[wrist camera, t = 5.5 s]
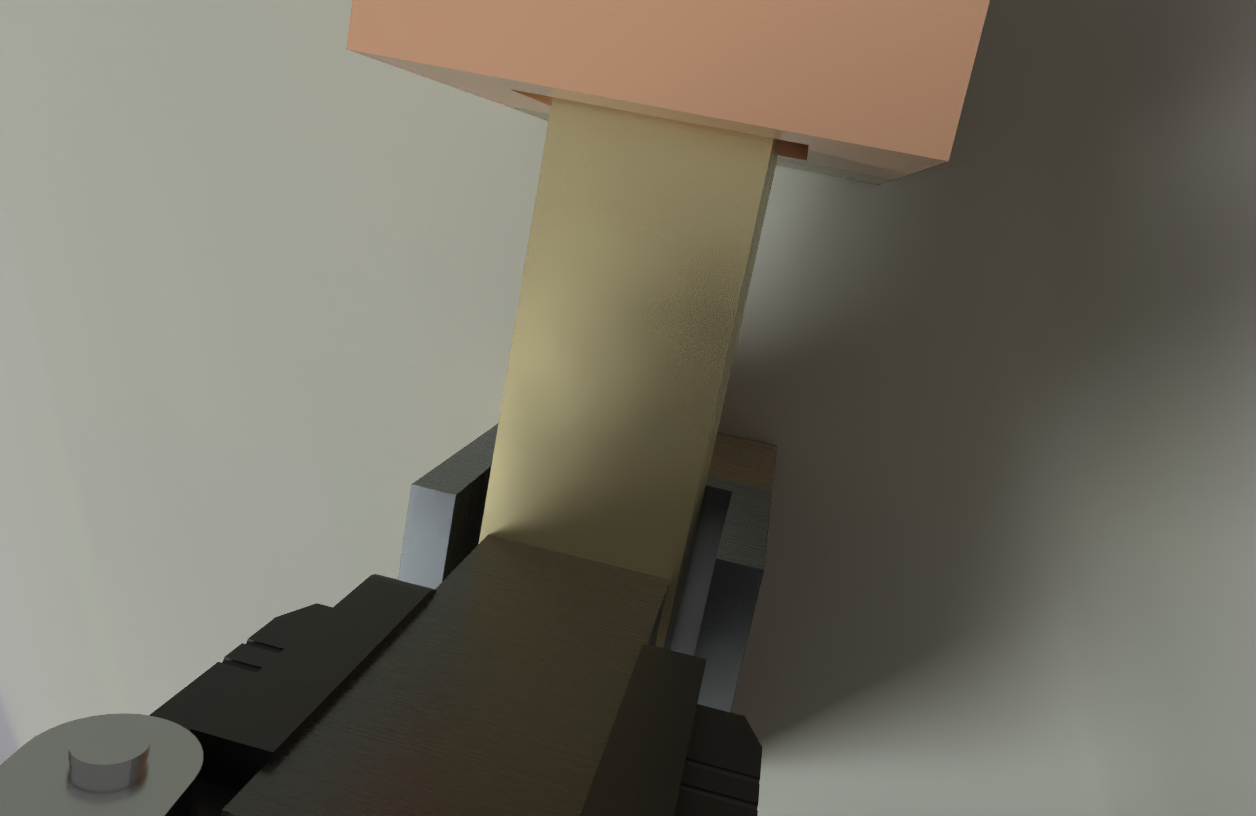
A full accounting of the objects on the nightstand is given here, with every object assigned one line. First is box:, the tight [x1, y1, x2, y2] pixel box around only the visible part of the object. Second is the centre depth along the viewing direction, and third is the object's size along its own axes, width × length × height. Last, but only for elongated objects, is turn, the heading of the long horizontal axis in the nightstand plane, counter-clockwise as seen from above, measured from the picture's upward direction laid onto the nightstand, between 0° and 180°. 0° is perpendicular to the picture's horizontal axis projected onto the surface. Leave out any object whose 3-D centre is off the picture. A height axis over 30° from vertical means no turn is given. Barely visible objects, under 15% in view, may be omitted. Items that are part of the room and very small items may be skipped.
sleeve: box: [398, 423, 777, 712], centre depth 16 cm, size 7×5×7 cm, turn 169°
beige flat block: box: [221, 97, 781, 816], centre depth 10 cm, size 12×3×9 cm, turn 170°
